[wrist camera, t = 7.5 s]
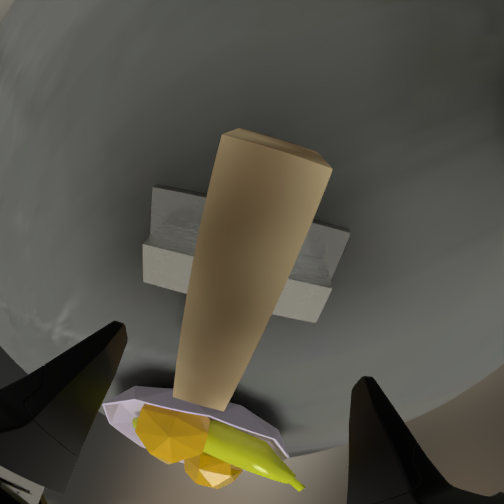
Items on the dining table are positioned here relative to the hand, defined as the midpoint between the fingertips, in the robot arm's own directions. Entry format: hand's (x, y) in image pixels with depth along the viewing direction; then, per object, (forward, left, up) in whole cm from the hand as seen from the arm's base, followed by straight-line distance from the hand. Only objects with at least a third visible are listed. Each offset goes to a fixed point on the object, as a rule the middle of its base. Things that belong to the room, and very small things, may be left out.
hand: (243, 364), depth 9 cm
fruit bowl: (+1, +32, -12) cm, 34 cm away
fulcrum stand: (+1, +3, -12) cm, 12 cm away
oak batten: (+1, +2, -8) cm, 8 cm away
